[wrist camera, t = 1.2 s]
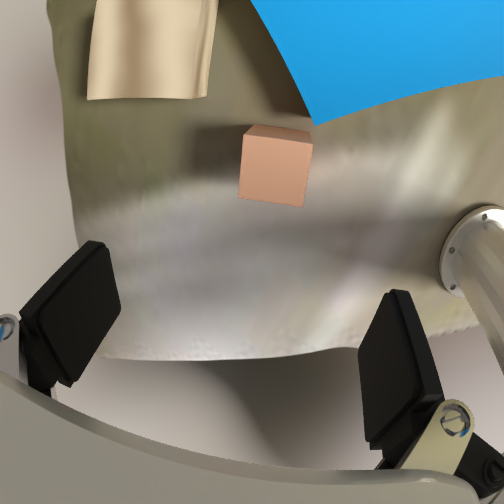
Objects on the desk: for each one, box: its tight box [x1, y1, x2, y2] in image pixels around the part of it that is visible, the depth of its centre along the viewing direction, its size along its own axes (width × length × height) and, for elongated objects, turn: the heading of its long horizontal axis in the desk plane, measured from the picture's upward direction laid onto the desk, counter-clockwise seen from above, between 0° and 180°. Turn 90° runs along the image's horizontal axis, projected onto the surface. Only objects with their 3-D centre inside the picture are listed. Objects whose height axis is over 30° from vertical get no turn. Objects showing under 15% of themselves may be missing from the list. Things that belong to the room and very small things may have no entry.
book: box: [251, 0, 504, 126], centre depth 15 cm, size 17×4×25 cm
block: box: [238, 125, 313, 207], centre depth 24 cm, size 5×5×6 cm
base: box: [87, 0, 219, 100], centre depth 20 cm, size 10×10×5 cm
